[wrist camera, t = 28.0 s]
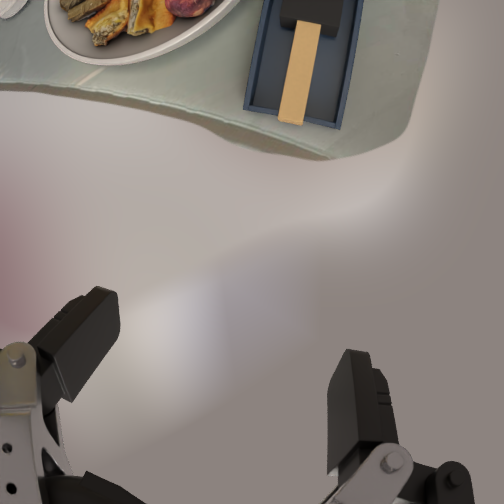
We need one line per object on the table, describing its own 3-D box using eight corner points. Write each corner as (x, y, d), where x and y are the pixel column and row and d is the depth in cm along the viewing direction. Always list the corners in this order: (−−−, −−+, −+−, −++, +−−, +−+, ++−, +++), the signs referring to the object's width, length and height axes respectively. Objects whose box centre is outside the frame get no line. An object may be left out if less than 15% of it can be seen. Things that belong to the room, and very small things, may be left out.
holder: (364, -27, 23) (368, -37, 20) (336, 128, 32) (340, 129, 29) (278, -44, 23) (276, -55, 21) (247, 110, 33) (242, 109, 30)
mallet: (343, -10, 24) (346, -22, 21) (319, 129, 30) (321, 127, 27) (290, -20, 24) (290, -33, 22) (261, 118, 30) (258, 114, 27)
